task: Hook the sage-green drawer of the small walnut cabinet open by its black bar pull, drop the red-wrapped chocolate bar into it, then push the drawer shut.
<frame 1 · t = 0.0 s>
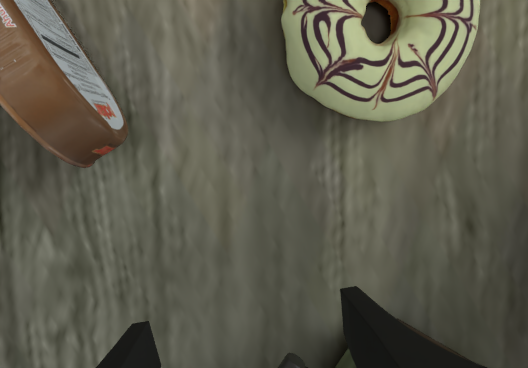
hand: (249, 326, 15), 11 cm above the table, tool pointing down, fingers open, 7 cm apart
tin: (55, 36, 22), on the table
decorated donut: (364, 29, 23), on the table
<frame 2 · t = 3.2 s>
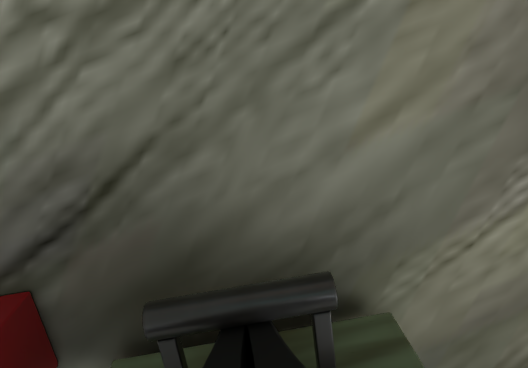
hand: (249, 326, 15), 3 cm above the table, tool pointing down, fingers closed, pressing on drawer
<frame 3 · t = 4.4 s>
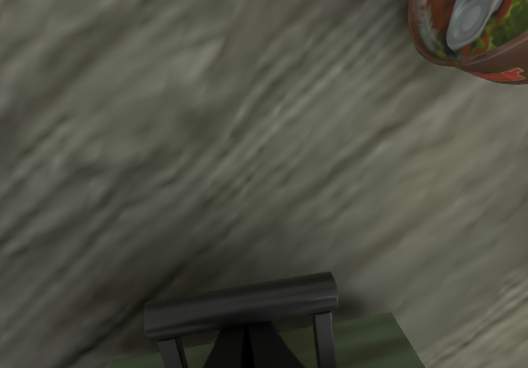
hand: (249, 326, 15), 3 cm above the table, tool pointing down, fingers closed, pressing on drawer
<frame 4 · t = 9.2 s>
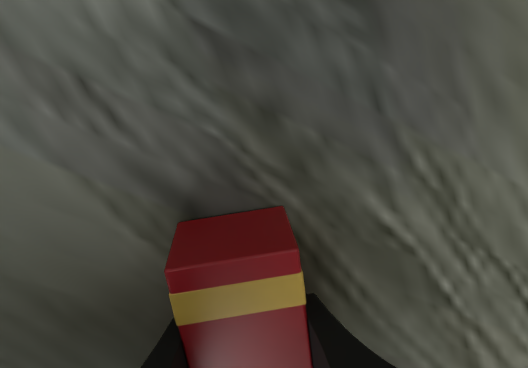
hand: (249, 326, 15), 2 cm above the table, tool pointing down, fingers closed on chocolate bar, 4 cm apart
chocolate bar: (246, 302, 16), on the table, touching gripper
when the fingers open (5 cm above the table, at t = 13.4 s): chocolate bar drops 2 cm, resting on drawer.
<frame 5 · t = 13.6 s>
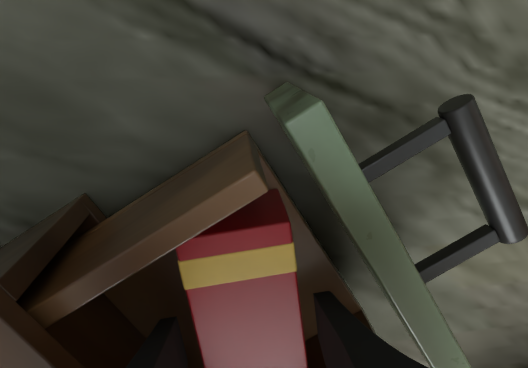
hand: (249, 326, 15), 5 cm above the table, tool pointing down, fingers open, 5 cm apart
cabinet: (68, 359, 21), on the table
drawer: (295, 276, 16), point 4 cm above the table, slide at 9.1 cm, touching chocolate bar
chocolate bar: (245, 276, 18), point 2 cm above the table, touching drawer
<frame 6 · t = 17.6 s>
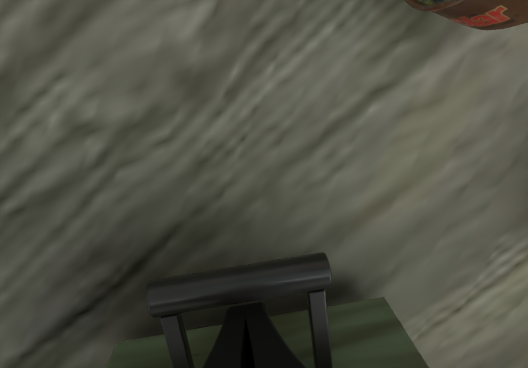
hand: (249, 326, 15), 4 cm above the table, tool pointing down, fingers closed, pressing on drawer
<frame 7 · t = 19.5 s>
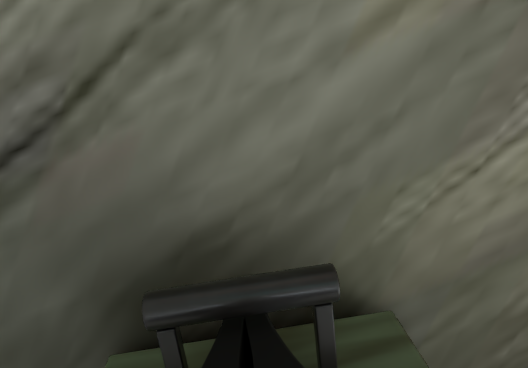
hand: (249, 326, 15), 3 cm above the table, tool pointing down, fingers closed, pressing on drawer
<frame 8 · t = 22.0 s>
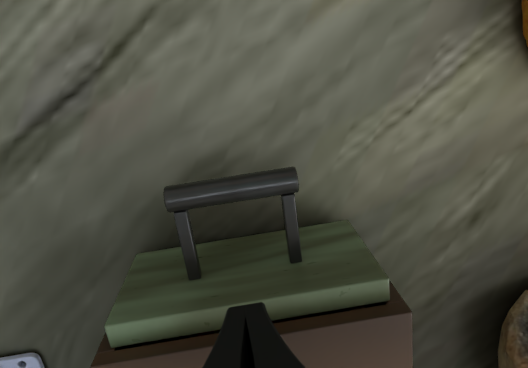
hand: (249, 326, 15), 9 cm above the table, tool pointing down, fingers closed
cabinet: (260, 336, 26), on the table
drawer: (256, 326, 21), point 4 cm above the table, slide at 0.0 cm, touching chocolate bar
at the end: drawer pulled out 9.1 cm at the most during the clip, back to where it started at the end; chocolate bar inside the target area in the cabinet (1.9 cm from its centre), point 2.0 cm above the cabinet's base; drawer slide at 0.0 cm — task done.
